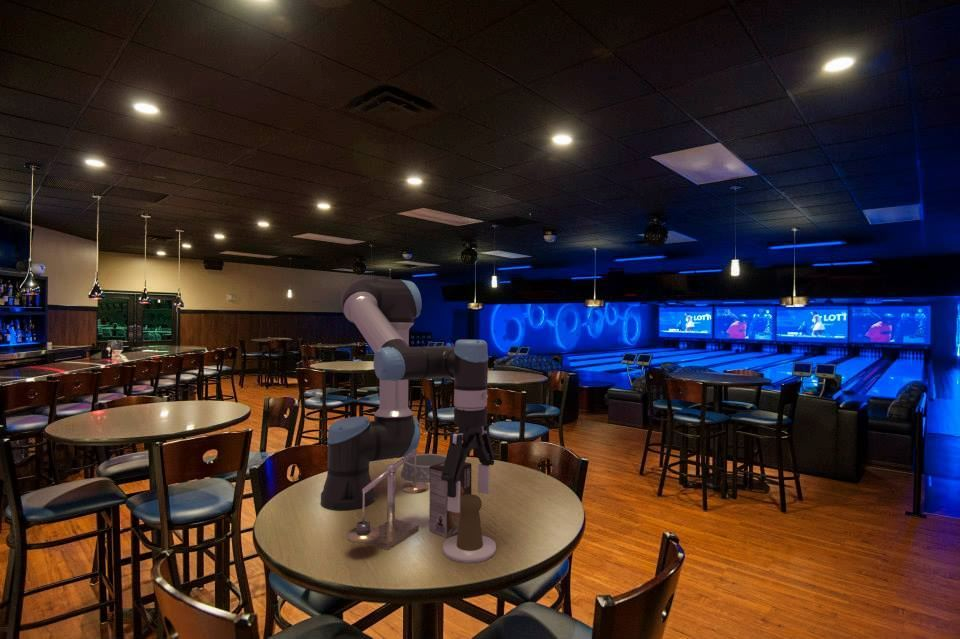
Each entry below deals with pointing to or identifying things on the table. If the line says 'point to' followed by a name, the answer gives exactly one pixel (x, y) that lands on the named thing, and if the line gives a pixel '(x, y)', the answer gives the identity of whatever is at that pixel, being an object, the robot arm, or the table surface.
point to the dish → (469, 556)
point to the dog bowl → (421, 467)
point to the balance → (388, 512)
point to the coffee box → (445, 500)
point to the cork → (470, 524)
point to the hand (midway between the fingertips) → (469, 501)
